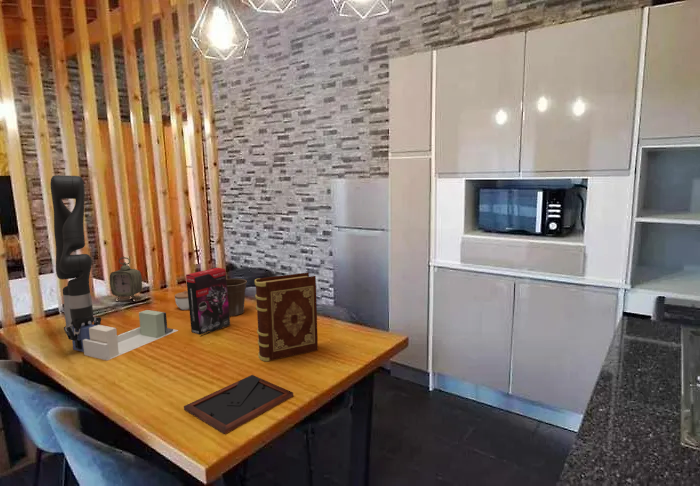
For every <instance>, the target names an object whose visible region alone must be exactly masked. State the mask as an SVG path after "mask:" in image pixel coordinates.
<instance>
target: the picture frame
mask: <svg viewBox="0 0 700 486" xmlns="http://www.w3.org/2000/svg"><path fill="white" fill-rule="evenodd" d="M293 397H294V392H293V391H291V390H288V389H286V388H284V387H281V386H279V385H277V384H274V383H272V382H270V381H268V380H265V379H264V378H261V377H258V376H257V375H255V374H251V375H248V376H247V377H244V378H242V379H240V380H238V381H235V382H232V383H231V384H228V385H227V386H223V387H222V388H220V389H218V390H216V391H214V392H211V393H209V394H207V395H205V396H203V397H201V398H199V399H196V400H194V401H192V402H190V403H187V404H185V405H184V406H183V410H184V411H185V412H187V413H189V414H190V415H192V416H194V417H196V418H197V419H199V420H200V421H201V422H204V423H205V424H207V425H208V426H210V427H212V428H214V429H215V430H217V431H219V432H220V433H221V434H223V435H227V434H228V433H230V432H232V431H233V430H236V429H237V428H239V427H241V426H243V425H244V424H246V423H248V422H250V421H251V420H253V419H255V418H258V417H259V416H260V415H263V414H264V413H265V412H267V411H269V410H271V409H273V408H274V407H277V406H278V405H280V404H282V403H283V402H285V401H287V400H288V399H290V398H293Z"/></svg>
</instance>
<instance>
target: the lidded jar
mask: <svg viewBox="0 0 700 486" xmlns="http://www.w3.org/2000/svg"><path fill="white" fill-rule="evenodd" d="M174 300H175V302H174V303H175V304H176V306H177V307H178V309H180V310H181V311H182V310H183V311H187V310H189V301H188V291H187V290H184V291H182V292H177V293H175V294H174Z"/></svg>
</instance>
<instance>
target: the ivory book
mask: <svg viewBox="0 0 700 486" xmlns="http://www.w3.org/2000/svg"><path fill="white" fill-rule="evenodd" d="M117 333H118V332H117V328H116V327H112V326H107V325H102V324H100V325H96V326H93V327H90V328H89V334H90V340H93V341H97V342H102V343H107V344H108V345H109V354H110V358H111V357H114V356H116V355H118V354H119V350H118V341H117ZM114 358H115V357H114Z"/></svg>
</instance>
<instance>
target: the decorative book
mask: <svg viewBox="0 0 700 486" xmlns="http://www.w3.org/2000/svg"><path fill="white" fill-rule="evenodd" d="M316 278H317V277H316V275H312V276H310V272H301V273H300V272H299V273H291V274H285V275H278V276H269V277H268V276H267V277H262V278H261V277H260V278H256V279H254V285H255V299H256V305H255V309H256V315H257V317H256V318H257V329H256V333H257V335H258V336H257V337H258V339H257V345H258V355H257V356H258V359H259V360H261V361H263V362H269V361H274V360H279V359H284V358H288V357H292V356H297V355H301V354H306V353H311V352H315V351H316V352H317V351H318V347H319V346H318V345H319V343H318V341H319V340H318V311H317V309H318V308H317V307H318V305H317V280H316Z"/></svg>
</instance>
